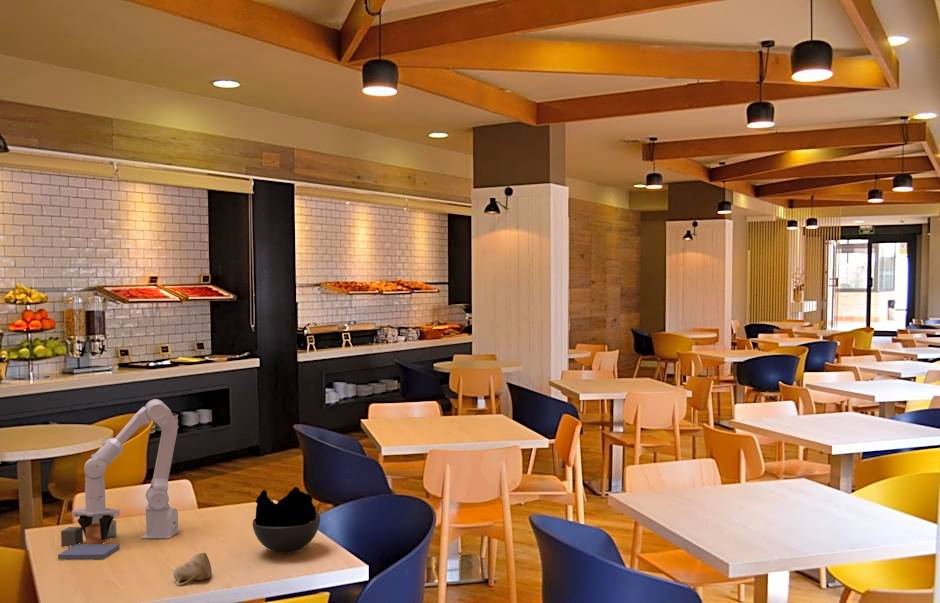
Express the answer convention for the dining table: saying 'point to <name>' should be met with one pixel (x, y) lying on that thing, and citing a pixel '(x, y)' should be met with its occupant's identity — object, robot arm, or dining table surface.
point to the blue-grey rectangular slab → (89, 551)
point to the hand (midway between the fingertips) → (96, 539)
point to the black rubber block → (71, 536)
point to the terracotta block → (94, 534)
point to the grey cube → (112, 530)
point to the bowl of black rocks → (286, 521)
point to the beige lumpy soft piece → (193, 570)
